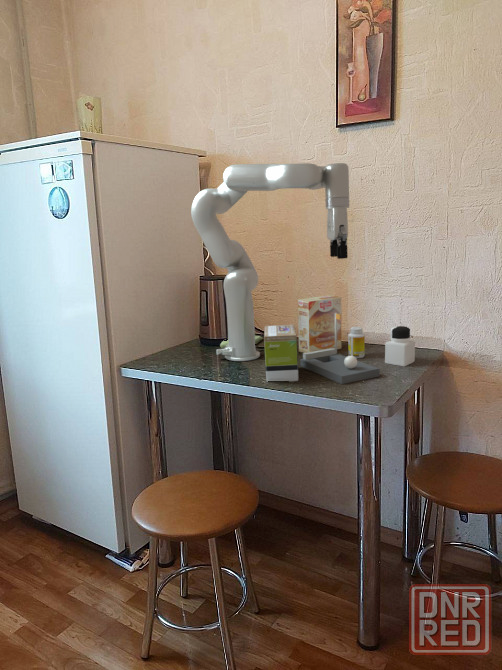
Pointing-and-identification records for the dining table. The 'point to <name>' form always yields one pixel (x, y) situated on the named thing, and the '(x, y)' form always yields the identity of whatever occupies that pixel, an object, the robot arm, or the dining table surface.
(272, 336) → the tea box
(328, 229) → the robot arm
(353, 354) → the supplement bottle
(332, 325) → the coffeecake box
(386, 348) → the medicine bottle
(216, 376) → the dining table surface
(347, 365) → the ball
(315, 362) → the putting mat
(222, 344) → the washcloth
